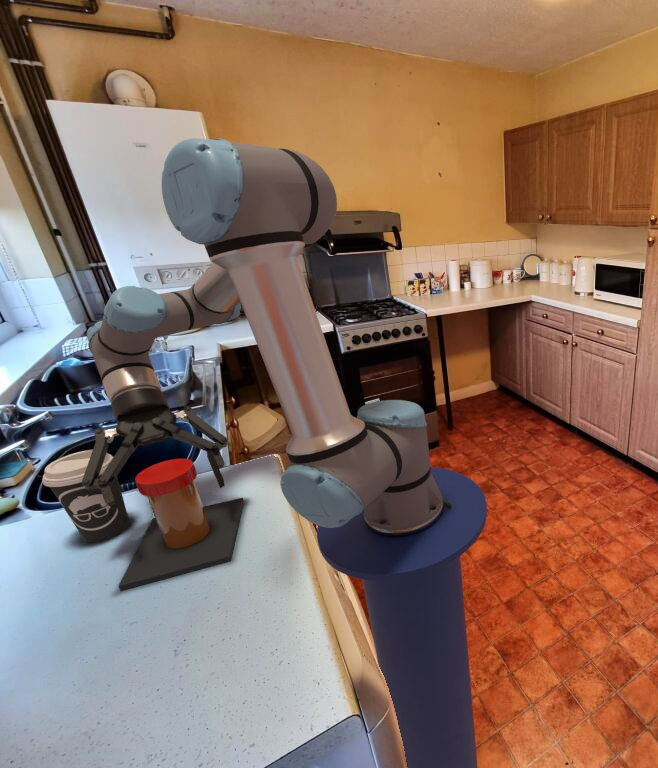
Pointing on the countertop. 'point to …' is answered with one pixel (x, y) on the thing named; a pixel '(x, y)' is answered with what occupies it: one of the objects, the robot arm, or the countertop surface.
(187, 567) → the mat
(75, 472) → the coffee cup
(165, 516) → the jar
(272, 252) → the robot arm
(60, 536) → the countertop surface
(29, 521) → the countertop surface
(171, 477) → the lid
